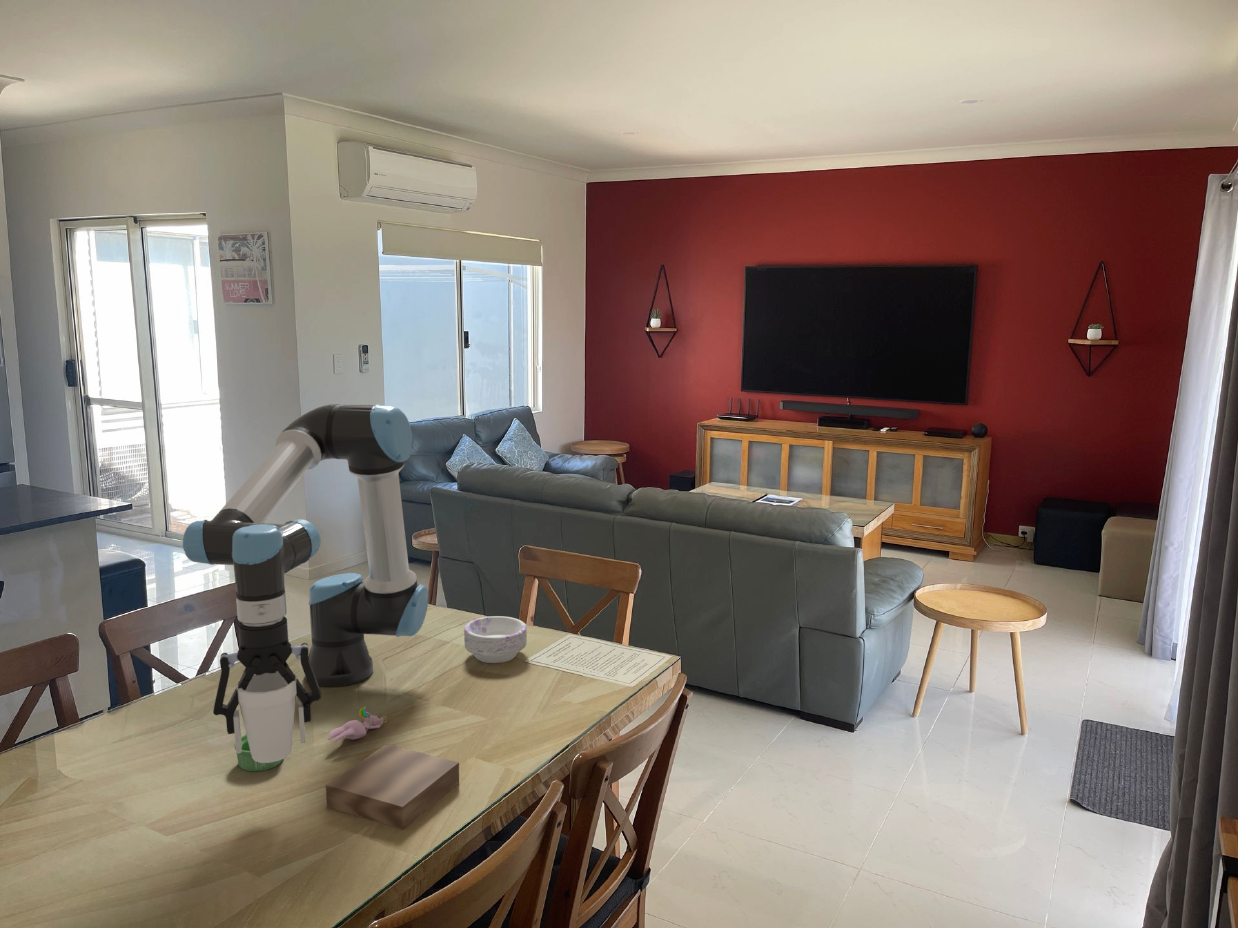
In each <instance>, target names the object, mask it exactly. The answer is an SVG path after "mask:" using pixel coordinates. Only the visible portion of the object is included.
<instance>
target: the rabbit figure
mask: <svg viewBox="0 0 1238 928" xmlns="http://www.w3.org/2000/svg"><path fill="white" fill-rule="evenodd" d="M358 715H359V717H360V718H364V720H363V722H361V721H359V720H357V719H353V720H349V721H347V722H345V723H344V724H343V725H342V726H341V727H340V726H339V727H336V728H333V729H332V730H331V731H330V732H329V734H328V736H327V740H328V741H331V740H332V739H334V738H335V739H334V741H333V742H337V741H340V740H341V739H343V738H345V739H346V740H347V739H348V740H353V741H355V740H360V739H362V738H364V737H365V736H367V731H369V730H375V729H379V728H381V727H382V725H383V723H384V724H387V722H388V718H387V716H384V715H382V716H380V717H378V712H376V713H372V714H370V713H369V712H368V711H366V706H363V707H361V708H360V709H359V711H358ZM354 739H355V740H354Z"/></svg>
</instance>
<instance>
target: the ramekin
mask: <svg viewBox="0 0 1238 928" xmlns="http://www.w3.org/2000/svg"><path fill="white" fill-rule="evenodd" d="M241 743H242V748H241V753H238V754H236V758H237V763H238V767H239V768H241V769H242V770H244V771H245V772H262V771H266V770H270V769H273V768H274V767H277V766H278V765H281V764H282V762H283V761H284V759H281V760H279V761H275V762H271V763H260V762H256V761H254V760H253V758H252V755H251V752H250V748H249V744H248V739H247V735H246V733H245V734H243V735H242V734H241ZM234 750H235V751H236V745H235V743H234Z"/></svg>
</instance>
